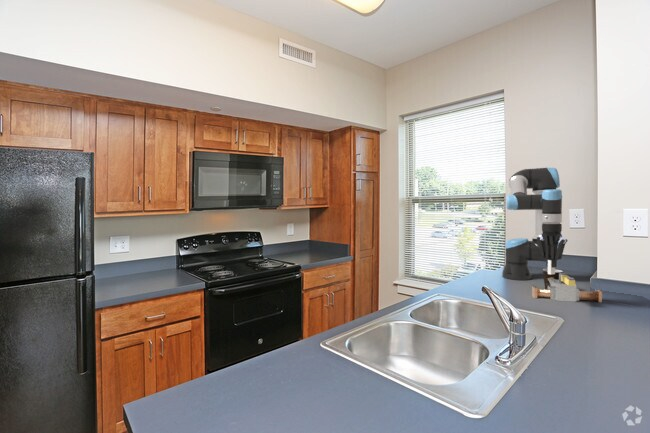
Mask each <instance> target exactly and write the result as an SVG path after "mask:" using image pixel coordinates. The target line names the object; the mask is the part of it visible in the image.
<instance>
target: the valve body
mask: <svg viewBox="0 0 650 433" xmlns="http://www.w3.org/2000/svg"><path fill="white" fill-rule="evenodd" d="M594 289H595V292H594V291H584V290H580V289H579V288H578V287H577V284H576V283H575V286H568V285H567V284H566V283H564V282H560V281H559V280H553V279H551V286H548V289H545V288H538V287H536V285H531V296H532V297H533V298H534V299H538V298H547V299H548V298H549V299H550V300H555V301H558V302H561V301H562V302H574V303H576V302H579V301H590V302H591V301H594V302H598V303H603V291H601V290H600V289H598V290H596V288H594Z"/></svg>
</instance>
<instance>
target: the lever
mask: <svg viewBox="0 0 650 433" xmlns="http://www.w3.org/2000/svg"><path fill="white" fill-rule="evenodd" d="M567 274H568V273H566V272H563V273H559V281H560V282H564V283H566V284H567V285H568V286H575V284H576V279H575V278H574V277H573V276H571V277H570V276H568V275H569V274H568V275H567Z"/></svg>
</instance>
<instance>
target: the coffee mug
mask: <svg viewBox="0 0 650 433" xmlns="http://www.w3.org/2000/svg"><path fill="white" fill-rule="evenodd" d="M559 273H564V271H563V270H561V269H557V268H555V274H552V275H550V274H548V268H543V269H542V275H543V283H544V289H548V286H551V279H553V280H559ZM566 274H567V275H568V276H569V277H572V275H570V274H569V273H566Z"/></svg>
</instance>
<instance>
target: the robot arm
mask: <svg viewBox="0 0 650 433" xmlns="http://www.w3.org/2000/svg"><path fill="white" fill-rule="evenodd" d="M560 184H561V183H560V175H559V172H558V169H557V168H555V167H538V168H537V167H536V168H524V169H521V170H518V171H516V172H515V173H514V174H512V175H511V177H510V178H509V180H508V186H509V188H510V194H509V195H508V194H507V195H506V209H507V210H510V211H512V210H513V211H525V210H527V211H530V210H531V211H533V210H534V211H535V224H534V225H535V234H534V236H533V237H532V240H529V238H526V237H524V238H523V237H520V238H519V237H518V238H510V239H507V240H506V241H505V247H504V249H505V265H504V267H503V270H502V272H501V274H502V275H501V276H502V277H503V278H505V279H509V280H515V281H528V280H531V279H532V273H531V270H530V268H529V262H530V261H531V262H532V261H533V262H545V263H546V267H547V269H548V274H550V275H552V274H555V269H556V268H557V263H558V262H557V261H559V260H562V258H563V254H564V250H565V246H566V244H567V242H568V239H567V238H564V237H563V235H562V228H563V226H562V225H563V224H562V222H563V221H562V220H563V215H562V214H563V210H562V208H563V203H562V202H563V192H562V190H561V189H559V188H560ZM529 189H530V190H532V193H533V194H528V190H529Z"/></svg>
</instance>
